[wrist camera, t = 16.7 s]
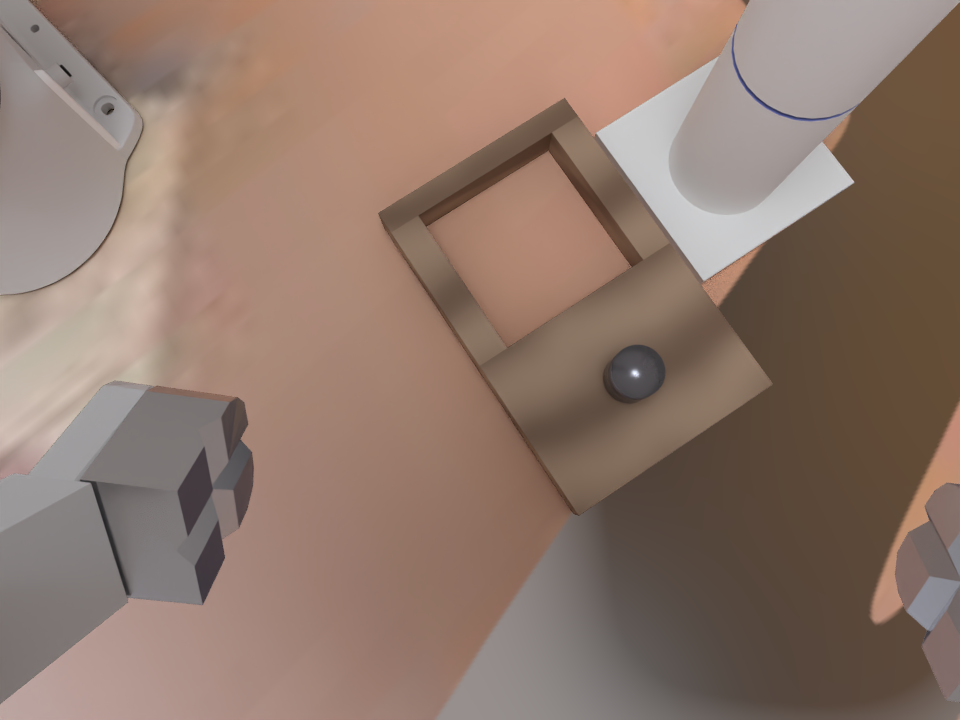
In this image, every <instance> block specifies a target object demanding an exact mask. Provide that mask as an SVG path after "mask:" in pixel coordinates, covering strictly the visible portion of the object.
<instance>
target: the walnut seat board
mask: <svg viewBox="0 0 960 720" xmlns="http://www.w3.org/2000/svg"><path fill="white" fill-rule="evenodd" d="M548 150H549V151H550V153H551V154H552V156H553V157H554V158H555V160H556V161H557V163H558V164H559V165H560V167H561V168H562V170H563V171H564V172H565V174H566V175H567V177H568V178H569V179H570V181H571V182H572V184H573V185H574V186H575V188H576V189H577V191H578V192H579V193H580V195H581V196H582V198H583V199H584V200H585V202H586V203H587V205H588V206H589V207H590V209H591V210H592V212H593V213H594V214H595V216H596V217H597V219H598V220H599V221H600V223H601V224H602V226H603V227H604V228H605V230H606V231H607V233H608V234H609V235H610V237H611V238H612V240H613V241H614V242H615V244H616V245H617V247H618V248H619V249H620V251H621V252H622V254H623V255H624V256H625V258H626V259H627V261H628V262H629V263H630V265H631V266H632V268H630V269H629V270H627V271H626V272H624V273H622V274H621V275H619V276H618V277H616V278H615V279H613V280H612V281H610V282H609V283H607V284H605V285H604V286H602V287H601V288H599V289H598V290H596V291H595V292H593V293H592V294H590V295H588V296H587V297H585V298H584V299H582V300H581V301H579V302H578V303H576V304H575V305H573V306H572V307H570V308H568V309H567V310H565V311H564V312H562V313H561V314H559V315H558V316H556V317H555V318H553V319H551V320H550V321H548V322H547V323H545V324H544V325H542V326H541V327H539V328H538V329H536V330H534V331H533V332H531V333H530V334H528V335H527V336H525V337H524V338H522V339H521V340H519V341H517V342H516V343H514V344H513V345H511V346H510V347H508V348H507V347H506V345H505V344H504V342H503V341H502V339H501V338H500V336H499V335H498V333H497V332H496V330H495V329H494V327H493V326H492V324H491V323H490V321H489V320H488V318H487V317H486V315H485V314H484V312H483V311H482V309H481V308H480V306H479V305H478V303H477V302H476V300H475V299H474V298H473V296H472V295H471V293H470V292H469V290H468V289H467V287H466V286H465V284H464V283H463V281H462V280H461V278H460V277H459V275H458V274H457V272H456V271H455V269H454V268H453V266H452V265H451V263H450V262H449V260H448V259H447V257H446V256H445V254H444V253H443V251H442V250H441V248H440V247H439V245H438V244H437V242H436V241H435V240H434V238H433V237H432V235H431V234H430V232H429V231H428V229H427V228H426V226H428V225H429V224H431V223H432V222H434V221H436V220H437V219H439V218H440V217H442V216H444V215H445V214H447V213H448V212H450V211H452V210H453V209H455V208H456V207H458V206H460V205H461V204H463V203H464V202H466V201H468V200H469V199H471V198H472V197H474V196H476V195H477V194H479V193H480V192H482V191H484V190H485V189H487V188H488V187H490V186H492V185H493V184H495V183H496V182H498V181H500V180H501V179H503V178H504V177H506V176H508V175H509V174H511V173H513V172H514V171H516V170H517V169H519V168H521V167H522V166H524V165H525V164H527V163H529V162H530V161H532V160H533V159H535V158H537V157H538V156H540V155H541V154H543V153H545V152H546V151H548ZM378 214H379V216H380V219H381V221H382V224H383V226H384V228H385V230H386V231H387V233H388V234H389V236H390V237H391V239H392V240H393V242H394V243H395V245H396V246H397V248H398V249H399V251H400V252H401V254H402V255H403V257H404V258H405V260H406V261H407V263H408V264H409V266H410V267H411V269H412V270H413V272H414V273H415V275H416V276H417V278H418V279H419V281H420V282H421V284H422V286H423V287H424V289H425V290H426V292H427V293H428V295H429V296H430V298H431V299H432V301H433V302H434V304H435V305H436V307H437V308H438V310H439V311H440V313H441V314H442V316H443V317H444V319H445V320H446V322H447V323H448V325H449V326H450V328H451V329H452V331H453V332H454V334H455V335H456V337H457V338H458V340H459V341H460V343H461V344H462V346H463V347H464V349H465V350H466V352H467V353H468V355H469V356H470V358H471V359H472V361H473V363H474V364H475V366H476V367H477V369H478V370H479V372H480V373H481V375H482V376H483V378H484V379H485V381H486V382H487V384H488V385H489V387H490V388H491V390H492V391H493V393H494V394H495V396H496V397H497V399H498V400H499V402H500V403H501V405H502V406H503V408H504V409H505V411H506V412H507V414H508V415H509V417H510V418H511V420H512V421H513V423H514V424H515V426H516V427H517V429H518V430H519V432H520V433H521V435H522V436H523V438H524V440H525V441H526V443H527V444H528V446H529V447H530V449H531V450H532V452H533V453H534V455H535V456H536V458H537V459H538V461H539V462H540V464H541V465H542V467H543V468H544V470H545V471H546V473H547V474H548V476H549V477H550V479H551V480H552V482H553V483H554V485H555V486H556V488H557V489H558V491H559V492H560V494H561V495H562V497H563V498H564V500H565V501H566V503H567V504H568V506H569V507H570V509H571V510H572V512H573V513H574V514H575V515H578V516H579V515H581V514H582V513H584V512H585V511H586V510H588V509H589V508H591V507H592V506H594V505H595V504H597V503H598V502H600V501H601V500H603V499H604V498H606V497H607V496H609V495H610V494H612V493H613V492H615V491H616V490H617V489H619V488H621V487H622V486H623V485H625V484H626V483H628V482H629V481H631V480H632V479H634V478H635V477H637V476H638V475H640V474H641V473H643V472H644V471H645V470H647V469H649V468H650V467H651V466H653V465H654V464H656V463H657V462H659V461H660V460H662V459H663V458H665V457H666V456H668V455H669V454H671V453H672V452H674V451H675V450H677V449H678V448H680V447H681V446H683V445H684V444H685V443H687V442H688V441H690V440H691V439H693V438H694V437H696V436H697V435H699V434H700V433H702V432H703V431H705V430H706V429H708V428H709V427H710V426H712V425H713V424H715V423H716V422H718V421H719V420H721V419H722V418H724V417H725V416H727V415H728V414H730V413H731V412H733V411H734V410H736V409H737V408H739V407H740V406H742V405H743V404H745V403H746V402H747V401H749V400H750V399H752V398H753V397H755V396H756V395H758V394H759V393H761V392H762V391H764V390H765V389H767V388H768V387H770V386H771V385H773V384H772V382H771V381H770V379H769V378H768V377H767V375H766V374H765V373H764V371H763V370H762V368H761V367H760V366H759V364H758V363H757V362H756V360H755V359H754V358H753V356H752V355H751V353H750V352H749V351H748V349H747V348H746V347H745V345H744V344H743V342H742V341H741V340H740V338H739V337H738V335H737V334H736V333H735V331H734V330H733V329H732V327H731V326H730V324H729V323H728V322H727V320H726V319H725V318H724V316H723V315H722V314H721V312H720V311H719V309H718V308H717V307H716V305H715V304H714V302H713V301H712V300H711V298H710V297H709V296H708V294H707V293H706V292H705V290H704V289H703V287H702V286H701V285H700V283H699V282H698V281H697V279H696V278H695V276H694V275H693V274H692V272H691V271H690V270H689V268H688V267H687V265H686V264H685V263H684V261H683V260H682V259H681V257H680V256H679V254H678V253H677V252H676V250H675V249H674V248H673V246H672V245H671V243H670V242H669V241H668V239H667V238H666V237H665V235H664V234H663V232H662V231H661V230H660V228H659V227H658V226H657V224H656V223H655V221H654V220H653V219H652V217H651V216H650V215H649V213H648V212H647V210H646V209H645V208H644V206H643V205H642V204H641V202H640V201H639V199H638V198H637V197H636V195H635V194H634V193H633V191H632V190H631V188H630V187H629V186H628V184H627V183H626V182H625V180H624V179H623V177H622V176H621V175H620V173H619V172H618V171H617V169H616V168H615V166H614V165H613V164H612V162H611V161H610V160H609V158H608V157H607V155H606V154H605V153H604V151H603V150H602V149H601V147H600V146H599V145H598V143H597V142H596V140H595V139H594V138H593V136H592V135H591V134H590V132H589V131H588V129H587V128H586V127H585V125H584V124H583V123H582V121H581V120H580V118H579V117H578V116H577V114H576V113H575V112H574V110H573V109H572V107H571V106H570V105H569V103H568V102H567V101H566V99H565V98H564V99H562V100H560V101H559V102H557V103H556V104H554V105H552V106H551V107H549V108H548V109H546V110H544V111H543V112H541V113H539V114H538V115H536V116H535V117H533V118H531V119H530V120H528V121H526V122H525V123H523V124H522V125H520V126H518V127H517V128H515V129H514V130H512V131H510V132H509V133H507V134H505V135H504V136H502V137H501V138H499V139H497V140H496V141H494V142H493V143H491V144H489V145H488V146H486V147H484V148H483V149H481V150H480V151H478V152H476V153H475V154H473V155H471V156H470V157H468V158H467V159H465V160H463V161H462V162H460V163H459V164H457V165H455V166H454V167H452V168H450V169H449V170H447V171H446V172H444V173H442V174H441V175H439V176H438V177H436V178H434V179H433V180H431V181H429V182H428V183H426V184H425V185H423V186H421V187H420V188H418V189H416V190H415V191H413V192H412V193H410V194H408V195H407V196H405V197H404V198H402V199H400V200H399V201H397V202H395V203H394V204H392V205H391V206H389V207H387V208H386V209H384V210H383V211H381V212H379V213H378Z"/></svg>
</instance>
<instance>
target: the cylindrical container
mask: <svg viewBox="0 0 960 720" xmlns="http://www.w3.org/2000/svg"><path fill="white" fill-rule="evenodd" d="M959 2H960V0H750V1H749V3H748V5H747V7H746V9H745V10H744V12H743V14H742V16H741V18H740V20H739V21H738V23H737V25H736V27H735V29H734V31H733V32H732V34H731V36H730V38H729V40H728V41H727V43H726V45H725V47H724V49H723V50H722V52H721V54H720V56H719V58H718V59H717V61H716V63H715V65H714V67H713V68H712V70H711V72H710V74H709V76H708V78H707V79H706V81H705V83H704V85H703V87H702V88H701V90H700V92H699V94H698V96H697V98H696V99H695V101H694V103H693V105H692V107H691V109H690V110H689V112H688V114H687V116H686V118H685V120H684V121H683V123H682V125H681V127H680V129H679V131H678V133H677V134H676V136H675V138H674V140H673V142H672V145H671V148H670V151H669V170H670V174H671V177H672V180H673V183H674V184H675V186H676V188H677V189H678V191H679V192H680V193H681V195H682V196H683V197H684V198H685V199H686V200H687V201H689V202H690V203H691V204H692V205H694V206H696V207H698V208H699V209H701V210H703V211H706V212H710V213H713V214H719V215H734V214H740V213H743V212H746V211H749V210H751V209H753V208H755V207H756V206H758V205H759V204H760V203H762V202H763V201H764V200H765V199H766V198H767V197H768V196H769V195H770V194H771V193H772V192H773V191H774V190H775V189H776V188H777V187H778V186H779V185H780V184H781V183H782V182H783V181H784V180H785V179H786V178H787V177H788V176H789V175H790V174H791V173H792V172H793V170H794V169H795V168H796V167H797V166H798V165H799V164H800V163H801V162H802V161H803V160H804V159H805V158H806V157H807V156H808V155H809V154H810V153H811V152H812V151H813V150H814V149H815V148H816V147H817V146H818V145H819V144H820V143H821V142H822V141H823V140H824V139H825V138H826V137H827V136H828V135H829V134H830V133H831V132H832V131H833V130H834V129H835V128H836V127H837V126H838V125H839V124H840V123H841V122H842V121H843V120H844V119H845V118H846V117H847V116H848V115H849V114H850V113H851V112H852V111H853V110H854V109H855V108H856V107H857V106H858V105H859V104H860V102H862V100H863V99H865V97H866V96H867V95H868V94H869V93H870V92H871V91H872V90H873V89H874V88H875V87H876V86H877V85H878V84H879V83H880V82H881V81H882V80H883V79H884V78H885V77H886V76H887V75H888V74H889V73H890V72H891V71H892V70H893V69H894V68H895V67H896V66H897V65H898V64H899V63H900V62H901V61H902V60H903V59H904V58H905V57H906V56H907V55H908V54H909V53H910V52H911V51H912V50H913V49H914V48H915V47H916V46H917V45H918V44H919V43H920V42H921V40H923V38H925V37H926V36H927V35H928V34H929V32H931V30H933V29H934V27H935V26H936V25H937V24H938V23H939V22H940V21H941V20H942V19H943V18H944V17H945V16H946V15H947V14H948V13H949V12H950V11H951V10H952V9H953V8H954V7H955V6H956V5H957V4H958V3H959Z"/></svg>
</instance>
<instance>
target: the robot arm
mask: <svg viewBox="0 0 960 720" xmlns="http://www.w3.org/2000/svg"><path fill="white" fill-rule="evenodd" d="M112 108H114V111H113V113H111V114H109V115H107V112H108V110H110V109H112ZM142 127H143V122H142V119H141V116H140V115H139V114H138V112H137V111H136V110H135V109H134V108H133V107H132V106H131V105H130V104H129V103H128V102H127V101H126V100H125V99H124V98H123V97H122V96H121V95H120V94H119V93H118V92H117V91H116V90H115V89H114V88H113V86H112V85H111V84H110V83H109V82H108V81H107V80H106V79H105V78H104V77H103V76H102V75H101V74H100V73H99V72H98V71H97V70H96V69H95V68H94V67H93V66H92V65H91V64H90V63H89V62H88V61H87V60H86V59H85V58H84V56H83V55H82V54H81V53H80V52H79V51H78V50H77V49H76V48H75V47H74V46H73V45H72V44H71V43H70V42H69V41H68V40H67V39H66V38H65V37H64V36H63V35H62V34H61V33H60V32H59V31H58V30H57V29H56V27H55V26H54V25H53V24H52V23H51V22H50V21H49V20H48V19H47V18H46V17H45V16H44V15H43V14H42V13H41V12H40V11H39V10H38V9H37V8H36V7H35V6H34V5H33V4H32V3H31V2H30V1H29V0H0V295H7V294H18V293H23V292H28V291H32V290H36V289H39V288H42V287H44V286H47V285H49V284H52V283H54V282H56V281H58V280H60V279H61V278H63V277H65V276H66V275H68V274H70V273H71V272H72V271H74V270H75V269H77V268H78V267H79V266H80V265H81V264H83V263H84V262H85V261H86V260H87V259H88V258H89V257H90V256H91V255H92V254H93V253H94V252H95V251H96V249H97V248H98V247H99V246H100V244H101V243H102V242H103V240H104V239H105V237H106V236H107V234H108V232H109V230H110V229H111V227H112V225H113V223H114V220H115V218H116V215H117V212H118V209H119V206H120V202H121V197H122V191H123V181H124V171H125V166H126V162H127V159H128V158H129V156H130V154H131V152H132V151H133V149H134V147H135V145H136V143H137V141H138V139H139V137H140V134H141V131H142ZM247 425H248V421H247V415H246V410H245V404H244V402H243V401H242V400H240V399H239V398H238V397H232V396H225V395H218V394H211V393H204V392H197V391H190V390H183V389H176V388H169V387H162V386H155V387H154V386H150V385H143V384H136V383H129V382H122V381H113V382H110V383H108V384H105V385H103V386H102V387H101V388H100V389H99V391H98V392H97V393H96V394H95V395H94V397H93V398H92V399H91V400H90V401H89V403H88V404H87V405H86V406H85V407H84V408H83V410H82V411H81V412H80V413H79V414H78V416H77V417H76V418H75V419H74V420H73V421H72V423H71V424H70V425H69V426H68V427H67V429H66V430H65V431H64V432H63V433H62V435H61V436H60V437H59V438H58V439H57V440H56V442H55V443H54V444H53V445H52V446H51V448H50V449H49V450H48V451H47V452H46V454H45V455H44V456H43V457H42V458H41V459H40V461H39V462H38V463H37V464H36V465H35V467H34V468H33V469H32V470H31V471H30V473H29V474H28V475H23V474H12V475H10V476H7V477H5V478H3V479H1V480H0V704H1V703H2V702H3V701H5V700H6V699H7V698H8V697H10V696H11V695H12V694H13V693H15V692H16V691H17V690H18V689H20V688H21V687H22V686H23V685H25V684H26V683H27V682H28V681H30V680H31V679H32V678H34V677H35V676H36V675H37V674H39V673H40V672H41V671H42V670H44V669H45V668H46V667H47V666H49V665H50V664H51V663H52V662H54V661H55V660H56V659H57V658H59V657H60V656H61V655H62V654H64V653H65V652H66V651H67V650H69V649H70V648H71V647H72V646H74V645H75V644H76V643H77V642H79V641H80V640H81V639H82V638H84V637H85V636H86V635H87V634H89V633H90V632H91V631H92V630H94V629H95V628H96V627H97V626H99V625H100V624H101V623H102V622H104V621H105V620H106V619H108V618H109V617H110V616H111V615H113V614H114V613H115V612H116V611H118V610H119V609H120V608H121V607H123V606H124V605H125V604H126V603H128V598H137V599H147V600H157V601H167V602H177V603H187V604H197V605H203V603H204V601H205V599H206V597H207V595H208V593H209V591H210V589H211V587H212V584H213V582H214V580H215V578H216V576H217V574H218V572H219V570H220V568H221V565H222V563H223V561H224V559H225V555H224V549H223V543H222V539H223V538H225V537H226V536H228V535H229V534H231V533H232V532H234V531H235V530H237V529H238V528H239V527H240V525H241V522H242V520H243V518H244V515H245V513H246V511H247V508H248V504H249V500H250V496H251V492H252V487H253V472H254V466H253V458H252V452H251V451H250V450H249V449H248V448H247V446H246V445H245V444H244V443H243V442H242V441H241V440H240V439H241V437H242V435H243V433H244V431H245V429H246V427H247ZM925 509H926V512H927V515H928V518H929V520H930V521H928V522H927V523H925V524H923V525H921V526H919V527H917V528H915V529H914V530H912V531H910V532H908V534H907V536H906V537H905V539H904V541H903V543H902V545H901V546H900V548H899V550H898V552H897V560H896V569H895V578H896V583H897V589H898V593H899V596H900V598H901V600H902V603H903V605H904V608H905V610H906V611H907V612H908V614H910V615H911V616H912V617H913V618H914V619H915V620H916V621H917V622H919V623H920V624H921V625H922V626H923V627H924V628H925V629H926V630H927V632H926V635H925V638H924V640H923V643H922V648H923V650H924V653H925V655H926V657H927V659H928V661H929V664H930V666H931V668H932V670H933V673H934V675H935V677H936V679H937V682H938V684H939V686H940V688H941V690H942V693H943V695H944V697H945V699H946V700H947V701H954V702H960V484H953V483H945V484H944V485H942V486H941V487H939V488H938V489H936V490H935V491H934V492H933V494H932V495H931V497H930V498H929V500H928V501H927V503H926V505H925Z"/></svg>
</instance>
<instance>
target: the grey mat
mask: <svg viewBox="0 0 960 720" xmlns="http://www.w3.org/2000/svg"><path fill="white" fill-rule="evenodd" d="M718 58H719V56H718V57H717V58H715V59H713V60H712V61H710V62H709V63H707V64H705V65H704V66H702V67H701V68H699V69H697V70H696V71H694V72H693V73H691V74H689V75H688V76H686V77H685V78H683V79H681V80H680V81H678V82H677V83H675V84H673V85H672V86H670V87H669V88H667V89H665V90H664V91H662V92H661V93H659V94H657V95H656V96H654V97H653V98H651V99H649V100H648V101H646V102H645V103H643V104H641V105H640V106H638V107H637V108H635V109H633V110H632V111H630V112H629V113H627V114H625V115H624V116H622V117H621V118H619V119H617V120H616V121H614V122H613V123H611V124H609V125H608V126H606V127H605V128H603V129H601V130H600V131H598V132H597V133H596V134H595V137H594V139H595V140H596V142H597V143H598V145H599V146H600V147H601V149H602V150H603V151H604V153H605V154H606V155H607V157H608V158H609V160H610V161H611V162H612V164H613V165H614V166H615V168H616V169H617V171H618V172H619V173H620V175H621V176H622V177H623V179H624V180H625V182H626V183H627V184H628V186H629V187H630V188H631V190H632V191H633V193H634V194H635V195H636V197H637V198H638V199H639V201H640V202H641V204H642V205H643V206H644V208H645V209H646V210H647V212H648V213H649V215H650V216H651V217H652V219H653V220H654V221H655V223H656V224H657V226H658V227H659V228H660V230H661V231H662V232H663V234H664V235H665V237H666V238H667V239H668V241H669V242H670V243H671V245H672V246H673V248H674V249H675V250H676V252H677V253H678V254H679V256H680V257H681V259H682V260H683V261H684V263H685V264H686V265H687V267H688V268H689V270H690V271H691V272H692V274H693V275H694V276H695V278H696V279H697V281H698V282H699V283H700V284H702V283H703V282H705V281H706V280H708V279H709V278H711V277H712V276H714V275H715V274H717V273H718V272H720V271H721V270H723V269H724V268H726V267H727V266H729V265H731V264H732V263H734V262H735V261H737V260H738V259H740V258H741V257H743V256H744V255H746V254H747V253H749V252H750V251H752V250H753V249H755V248H756V247H758V246H759V245H761V244H763V243H764V242H766V241H767V240H769V239H770V238H772V237H773V236H775V235H776V234H777V233H779V232H781V231H782V230H784V229H785V228H787V227H788V226H790V225H791V224H793V223H794V222H796V221H797V220H799V219H801V218H802V217H804V216H805V215H807V214H808V213H810V212H811V211H813V210H814V209H816V208H817V207H819V206H820V205H822V204H823V203H825V202H826V201H828V200H829V199H831V198H833V197H834V196H835V195H837V194H839V193H840V192H842V191H843V190H845V189H846V188H848V187H849V186H850V185H852V184H853V183H854V181H853V180H852V179H851V177H850V176H849V175H848V174H847V172H846V171H845V170H844V169H843V167H842V166H841V165H840V164H839V162H838V161H837V160H836V158H835V157H834V156H833V154H832V153H831V152H830V151H829V149H828V148H827V147H826V146H825V144H824V143H823V142H821V143H820V144H819V145H818V146H817V147H816V148H815V149H814V150H813V151H812V152H811V153H810V154H809V155H808V156H807V157H806V158H805V159H804V160H803V161H802V162H801V163H800V164H799V165H798V166H797V167H796V168H795V169H794V170H793V172H792V173H791V174H790V175H789V176H788V177H787V178H786V179H785V180H784V181H783V182H782V183H781V184H780V185H779V186H778V187H777V188H776V189H775V190H774V191H773V192H772V193H771V194H770V195H769V196H768V197H767V198H766V199H765V200H764V201H763V202H762V203H760V204H759V205H758V206H756V207H755V208H753V209H751V210H749V211H746V212H743V213H740V214H734V215H719V214H713V213H710V212H706V211H703V210H701V209H699V208H698V207H696V206H694V205H692V204H691V203H690V202H689V201H687V200H686V199H685V198H684V197H683V196H682V195H681V193H680V192H679V191H678V189H677V188H676V186H675V184H674V183H673V180H672V177H671V174H670V170H669V151H670V148H671V145H672V142H673V140H674V138H675V136H676V134H677V133H678V131H679V129H680V127H681V125H682V123H683V121H684V120H685V118H686V116H687V114H688V112H689V110H690V109H691V107H692V105H693V103H694V101H695V99H696V98H697V96H698V94H699V92H700V90H701V88H702V87H703V85H704V83H705V81H706V79H707V78H708V76H709V74H710V72H711V70H712V68H713V67H714V65H715V63H716V61H717V59H718Z"/></svg>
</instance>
